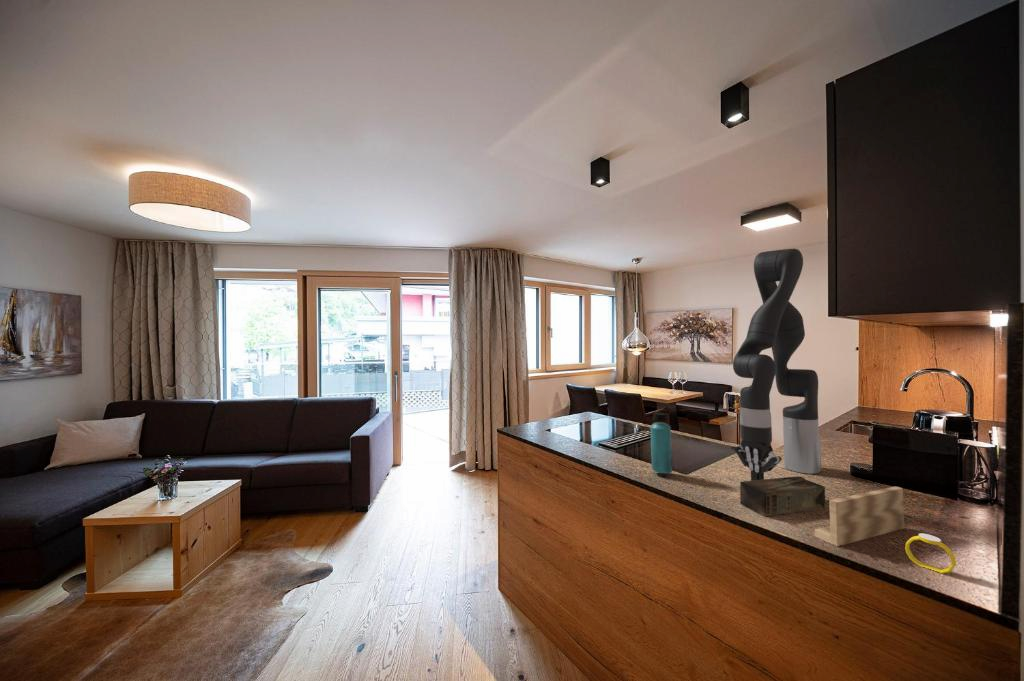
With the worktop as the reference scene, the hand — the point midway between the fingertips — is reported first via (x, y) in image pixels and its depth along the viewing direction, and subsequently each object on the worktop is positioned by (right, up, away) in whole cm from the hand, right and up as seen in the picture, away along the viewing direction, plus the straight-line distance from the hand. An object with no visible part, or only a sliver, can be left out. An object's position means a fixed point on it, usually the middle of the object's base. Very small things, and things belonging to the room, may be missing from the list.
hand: (757, 484), depth 102 cm
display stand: (+7, -1, -23) cm, 24 cm away
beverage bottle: (-21, -3, +14) cm, 26 cm away
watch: (+7, -1, -36) cm, 37 cm away
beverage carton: (0, -2, -10) cm, 10 cm away
